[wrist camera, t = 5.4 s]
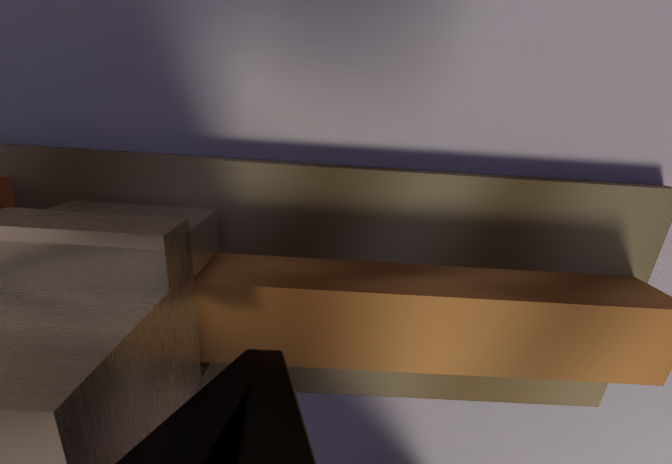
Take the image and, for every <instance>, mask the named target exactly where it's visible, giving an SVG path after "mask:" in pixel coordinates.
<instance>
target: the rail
mask: <svg viewBox="0 0 672 464" xmlns="http://www.w3.org/2000/svg"><path fill="white" fill-rule="evenodd" d="M73 200H75V201H91V202H108V203H125V204H141V205H158V206H175V207H191V208H208V209H217V214H218V234H219V250H218V251H217V252H216V253H215V254H214V255H213V256H212V258H211V259H210V260H209V261H208V262H207V263H206V264H205V266H204V267H203V268H202V269H201V270H200V271H199V272H198V273H197V275H196V276H195V277H194V290H195V303H196V315H197V328H198V341H199V353H200V362H211V363H225V368H226V367H227V366H228V365H229V364H230V363H231V362H232V361H234V360H235V359H236V358H237V357H238V356H239V355H241V354H242V353H243V352H244V351H245V350H247V349H263V350H281V351H282V352H283V354H284V358H285V361H286V364H287V368H288V371H289V374H290V378H291V381H292V384H293V388H294V391H295V392H307V393H327V394H347V395H367V396H388V397H408V398H428V399H448V400H468V401H489V402H509V403H529V404H549V405H570V406H590V407H599V404H600V402H601V399H602V397H603V394H604V392H605V389H606V387H607V384H608V383H623V384H642V385H662V386H664V384H665V382H666V380H667V377H668V375H669V373H670V371H671V369H672V297H671V296H669V295H667V294H665V293H664V292H662V291H660V290H658V289H656V288H654V287H652V286H651V285H649V284H647V283H648V280H649V278H650V275H651V273H652V270H653V268H654V265H655V263H656V260H657V258H658V255H659V253H660V250H661V247H662V245H663V242H664V240H665V237H666V235H667V232H668V230H669V227H670V225H671V222H672V187H669V186H662V185H647V184H631V183H615V182H599V181H583V180H567V179H551V178H536V177H520V176H504V175H488V174H472V173H456V172H440V171H425V170H409V169H393V168H377V167H361V166H345V165H329V164H314V163H298V162H282V161H266V160H250V159H234V158H218V157H202V156H187V155H171V154H155V153H139V152H123V151H107V150H91V149H76V148H60V147H44V146H28V145H12V144H0V209H3V208H7V207H14V208H31V209H48V208H51V207H54V206H57V205H60V204H63V203H66V202H69V201H73Z"/></svg>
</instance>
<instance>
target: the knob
mask: <svg viewBox="0 0 672 464" xmlns="http://www.w3.org/2000/svg"><path fill="white" fill-rule="evenodd" d="M218 250H219V234H218V214H217V209H208V208H191V207H175V206H158V205H141V204H125V203H108V202H91V201H75V200H73V201H69V202H66V203H63V204H60V205H57V206H54V207H51V208H48V209H31V208H14V207H7V208H3V209H0V464H115V463H116V462H117V461H118V460H120V459H121V458H122V457H123V456H124V455H125V454H127V453H128V452H129V451H130V450H131V449H132V448H133V447H135V446H136V445H137V444H138V443H139V442H140V441H142V440H143V439H144V438H145V437H146V436H147V435H148V434H150V433H151V432H152V431H153V430H154V429H155V428H156V427H158V426H159V425H160V424H161V423H162V422H163V421H165V420H166V419H167V418H168V417H169V416H170V415H171V414H173V413H174V412H175V411H176V410H177V409H178V408H180V407H181V406H182V405H183V404H184V403H185V402H186V401H188V400H189V399H190V398H191V397H192V396H193V395H194V394H196V393H197V392H198V391H199V390H200V389H201V388H203V387H204V386H205V385H206V384H207V383H208V382H209V381H211V380H212V379H213V378H214V377H215V376H216V375H218V374H219V373H220V372H221V371H222V370H223V369H224V368H225V363H211V362H200V353H199V341H198V328H197V315H196V303H195V290H194V277H195V276H196V275H197V273H198V272H199V271H200V270H201V269H202V268H203V267H204V266H205V264H206V263H207V262H208V261H209V260H210V259H211V258H212V256H213V255H214V254H215V253H216V252H217V251H218Z"/></svg>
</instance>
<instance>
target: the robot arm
mask: <svg viewBox="0 0 672 464" xmlns="http://www.w3.org/2000/svg"><path fill="white" fill-rule="evenodd" d="M115 464H316V461H315V458H314V454H313V451H312V448H311V444H310V441H309V438H308V434H307V431H306V428H305V424H304V421H303V418H302V414H301V411H300V408H299V404H298V401H297V398H296V394H295V391H294V388H293V384H292V381H291V378H290V374H289V371H288V368H287V364H286V361H285V358H284V354H283V352H282V351H281V350H263V349H247V350H245V351H244V352H243V353H242V354H241V355H239V356H238V357H237V358H236V359H235V360H234V361H232V362H231V363H230V364H229V365H228V366H227V367H226V368H224V369H223V370H222V371H221V372H220V373H219V374H218V375H216V376H215V377H214V378H213V379H212V380H211V381H209V382H208V383H207V384H206V385H205V386H204V387H203V388H201V389H200V390H199V391H198V392H197V393H196V394H194V395H193V396H192V397H191V398H190V399H189V400H188V401H186V402H185V403H184V404H183V405H182V406H181V407H180V408H178V409H177V410H176V411H175V412H174V413H173V414H171V415H170V416H169V417H168V418H167V419H166V420H165V421H163V422H162V423H161V424H160V425H159V426H158V427H156V428H155V429H154V430H153V431H152V432H151V433H150V434H148V435H147V436H146V437H145V438H144V439H143V440H142V441H140V442H139V443H138V444H137V445H136V446H135V447H133V448H132V449H131V450H130V451H129V452H128V453H127V454H125V455H124V456H123V457H122V458H121V459H120V460H118V461H117V462H116V463H115Z"/></svg>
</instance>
